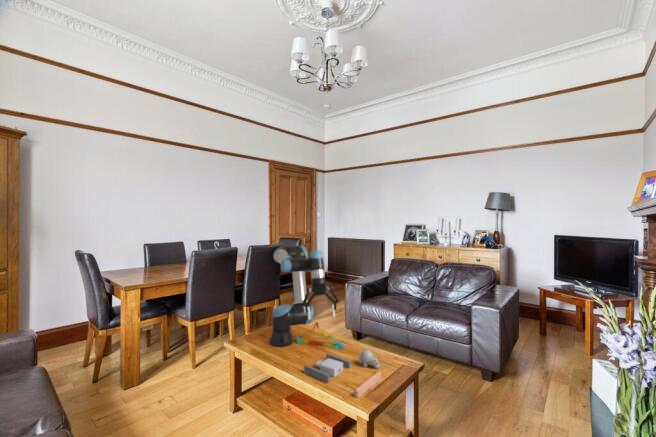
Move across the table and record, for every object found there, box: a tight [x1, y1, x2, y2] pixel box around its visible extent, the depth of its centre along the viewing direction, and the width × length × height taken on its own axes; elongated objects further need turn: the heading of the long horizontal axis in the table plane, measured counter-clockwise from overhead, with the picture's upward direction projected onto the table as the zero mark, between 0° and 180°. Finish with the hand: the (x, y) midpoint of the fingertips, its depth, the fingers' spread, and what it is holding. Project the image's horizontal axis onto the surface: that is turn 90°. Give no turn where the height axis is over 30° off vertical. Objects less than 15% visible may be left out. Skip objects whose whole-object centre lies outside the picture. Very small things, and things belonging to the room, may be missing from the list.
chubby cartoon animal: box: [357, 349, 381, 369], centre depth 169 cm, size 7×12×8 cm, turn 56°
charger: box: [314, 358, 344, 378], centre depth 165 cm, size 5×9×15 cm
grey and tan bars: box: [303, 352, 382, 398], centre depth 159 cm, size 34×22×4 cm, turn 51°
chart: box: [296, 321, 345, 350], centre depth 196 cm, size 30×3×15 cm, turn 75°
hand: (321, 318), depth 165 cm, fingers open, 13 cm apart
